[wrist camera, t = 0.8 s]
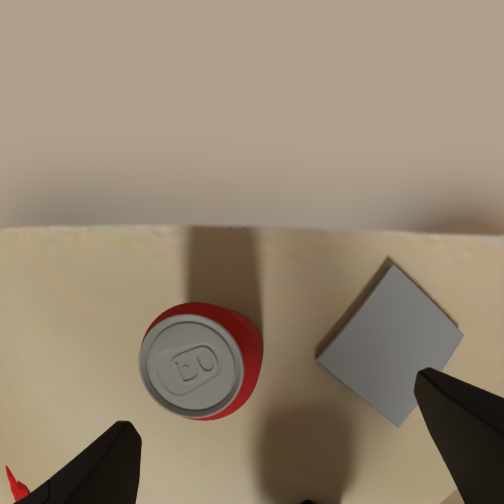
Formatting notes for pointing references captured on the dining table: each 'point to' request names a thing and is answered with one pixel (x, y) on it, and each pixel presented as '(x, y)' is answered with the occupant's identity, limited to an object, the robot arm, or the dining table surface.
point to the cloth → (16, 486)
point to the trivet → (391, 345)
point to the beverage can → (201, 360)
